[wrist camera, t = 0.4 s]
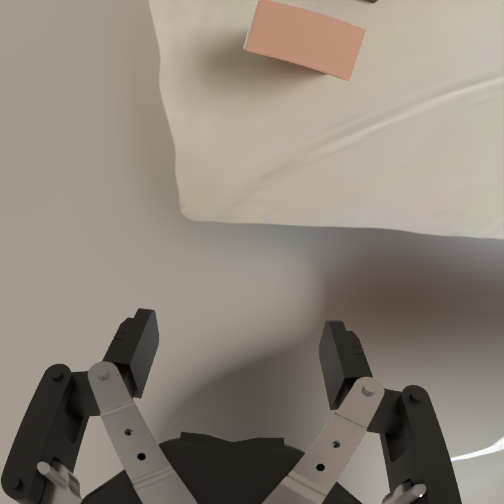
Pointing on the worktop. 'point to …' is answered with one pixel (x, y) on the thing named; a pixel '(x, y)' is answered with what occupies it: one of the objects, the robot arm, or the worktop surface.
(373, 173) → the worktop surface
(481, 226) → the worktop surface
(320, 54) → the salmon pink rectangular block
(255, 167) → the worktop surface
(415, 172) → the worktop surface
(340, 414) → the robot arm
